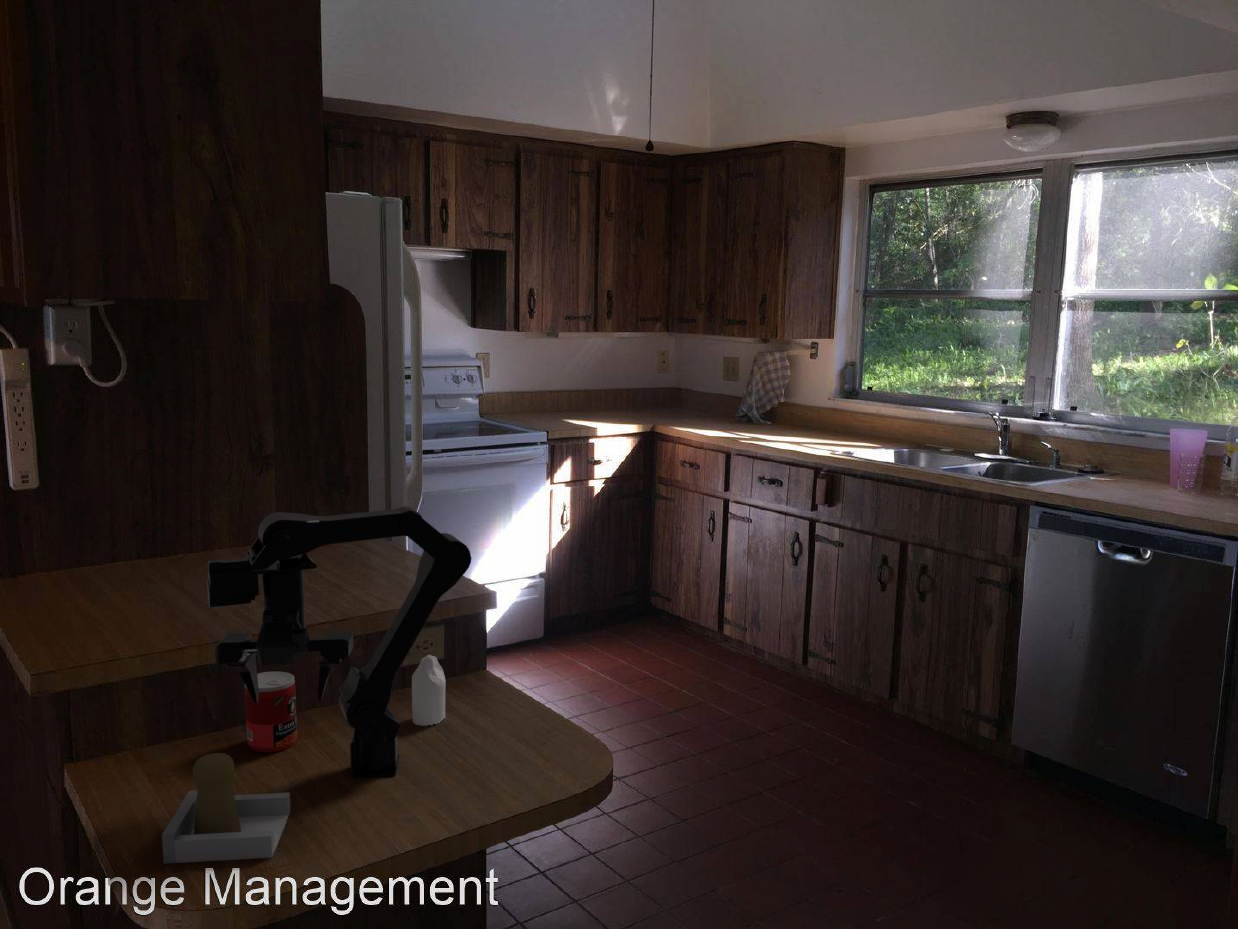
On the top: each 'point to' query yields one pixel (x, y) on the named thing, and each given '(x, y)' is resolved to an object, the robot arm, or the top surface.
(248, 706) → the canned food
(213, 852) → the shallow grey tray
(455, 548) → the robot arm
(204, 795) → the olive rounded tall piece
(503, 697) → the top surface
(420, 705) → the white milk jug
